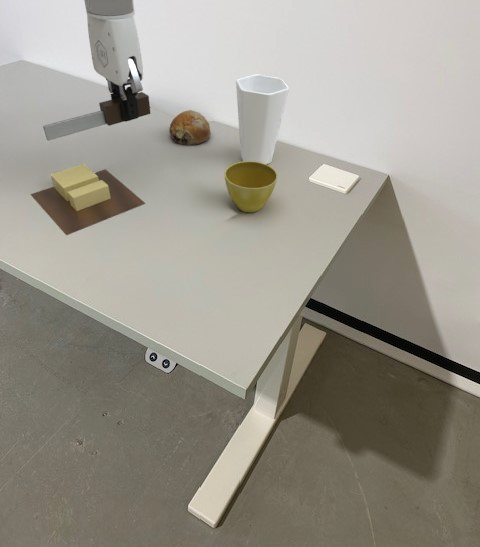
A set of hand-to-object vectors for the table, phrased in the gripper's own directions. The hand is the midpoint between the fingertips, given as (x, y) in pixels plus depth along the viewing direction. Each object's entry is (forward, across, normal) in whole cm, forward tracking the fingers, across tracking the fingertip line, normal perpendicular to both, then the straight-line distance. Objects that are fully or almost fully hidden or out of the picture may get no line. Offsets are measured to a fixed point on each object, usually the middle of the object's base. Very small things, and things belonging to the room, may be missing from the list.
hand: (126, 115), depth 79 cm
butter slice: (+13, +4, -12) cm, 18 cm away
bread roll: (+14, -10, +21) cm, 27 cm away
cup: (+14, +8, +27) cm, 32 cm away
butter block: (+13, -2, -12) cm, 17 cm away
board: (+14, +2, -12) cm, 19 cm away
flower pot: (+14, +21, +13) cm, 29 cm away
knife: (0, 0, -5) cm, 5 cm away
